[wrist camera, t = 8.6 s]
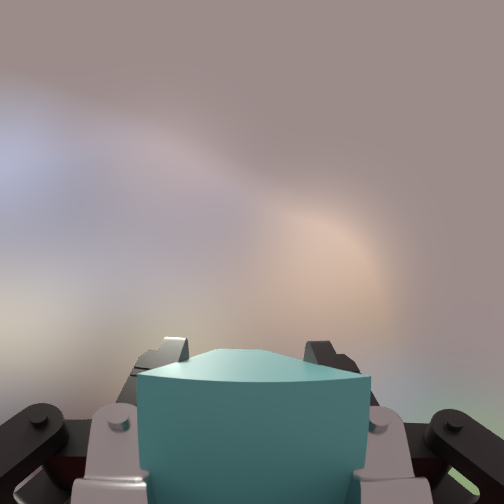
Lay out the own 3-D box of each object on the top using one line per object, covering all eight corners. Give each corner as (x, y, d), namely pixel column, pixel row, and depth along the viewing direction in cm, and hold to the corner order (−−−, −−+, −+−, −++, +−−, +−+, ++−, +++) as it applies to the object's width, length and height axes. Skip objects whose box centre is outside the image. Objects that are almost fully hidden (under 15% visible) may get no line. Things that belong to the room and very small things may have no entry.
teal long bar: (147, 533, 4) (137, 373, 5) (217, 387, 25) (217, 348, 26) (353, 532, 4) (370, 376, 5) (263, 388, 25) (263, 349, 26)
